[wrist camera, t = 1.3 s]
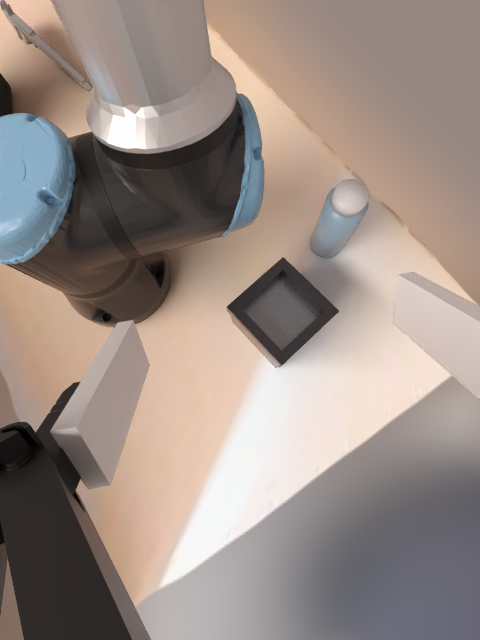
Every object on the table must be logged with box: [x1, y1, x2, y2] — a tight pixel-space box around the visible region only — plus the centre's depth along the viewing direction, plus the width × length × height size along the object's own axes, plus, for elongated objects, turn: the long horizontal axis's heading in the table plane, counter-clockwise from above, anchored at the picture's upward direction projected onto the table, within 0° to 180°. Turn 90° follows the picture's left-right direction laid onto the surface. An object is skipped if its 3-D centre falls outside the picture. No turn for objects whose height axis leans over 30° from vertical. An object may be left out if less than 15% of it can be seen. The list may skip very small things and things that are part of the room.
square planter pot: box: [227, 258, 339, 368], centre depth 38 cm, size 9×9×8 cm
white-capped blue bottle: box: [310, 179, 369, 258], centre depth 39 cm, size 5×5×12 cm
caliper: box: [0, 0, 92, 91], centre depth 52 cm, size 20×1×6 cm, turn 49°
